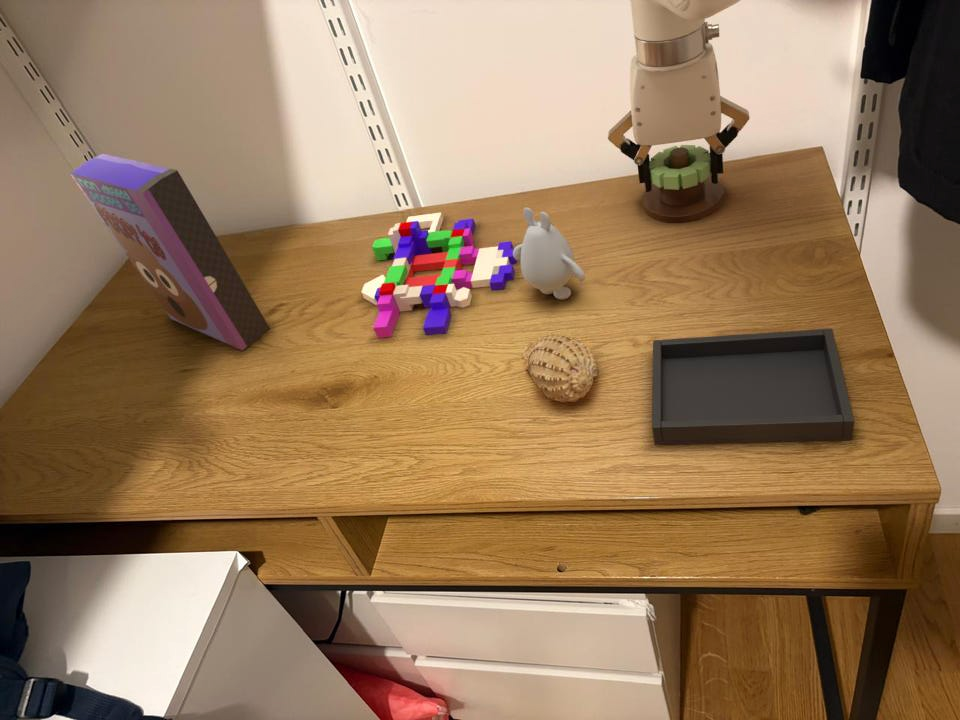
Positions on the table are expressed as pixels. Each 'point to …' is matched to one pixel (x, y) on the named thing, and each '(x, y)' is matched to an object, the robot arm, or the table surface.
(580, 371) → the seashell
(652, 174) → the ring
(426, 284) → the building block set
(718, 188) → the stand
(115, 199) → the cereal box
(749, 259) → the table surface
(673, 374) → the tray
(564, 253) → the toy figure
